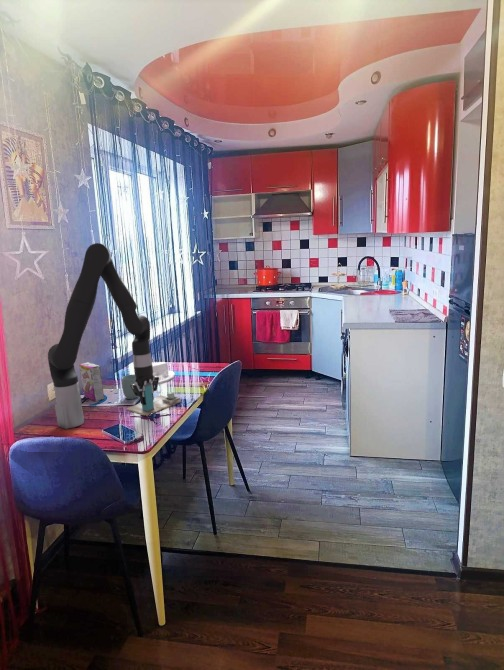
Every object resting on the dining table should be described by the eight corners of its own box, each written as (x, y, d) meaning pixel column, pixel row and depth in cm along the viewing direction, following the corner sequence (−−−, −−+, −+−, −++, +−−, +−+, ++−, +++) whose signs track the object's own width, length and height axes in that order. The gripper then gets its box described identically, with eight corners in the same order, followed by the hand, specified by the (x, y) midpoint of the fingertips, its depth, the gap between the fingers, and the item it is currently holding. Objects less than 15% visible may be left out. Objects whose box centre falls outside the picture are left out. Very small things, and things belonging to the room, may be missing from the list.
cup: (136, 400, 213) (134, 379, 211) (120, 400, 215) (118, 379, 213) (143, 394, 221) (141, 374, 219) (128, 394, 222) (126, 374, 220)
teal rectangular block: (147, 412, 196) (144, 384, 193) (142, 410, 198) (139, 383, 196) (154, 409, 199) (151, 382, 196) (148, 407, 201) (145, 380, 198)
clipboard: (147, 416, 194) (146, 411, 193) (126, 409, 202) (125, 405, 202) (181, 401, 208) (180, 397, 208) (160, 396, 217) (159, 392, 216)
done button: (170, 400, 205) (170, 394, 204) (166, 399, 207) (165, 393, 206) (176, 398, 207) (175, 392, 207) (171, 396, 209) (170, 391, 209)
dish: (126, 389, 231) (123, 367, 229) (127, 375, 255) (124, 355, 253) (176, 382, 237) (174, 361, 234) (172, 369, 261) (170, 350, 258)
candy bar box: (83, 397, 222) (78, 364, 219) (93, 394, 226) (88, 361, 222) (95, 402, 215) (90, 367, 211) (105, 399, 218) (100, 365, 215)
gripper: (134, 369, 186) (139, 410, 190) (161, 360, 197) (166, 399, 201) (123, 367, 191) (128, 406, 195) (150, 358, 202) (154, 396, 205)
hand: (147, 402), depth 198 cm, fingers closed on teal rectangular block, 3 cm apart
